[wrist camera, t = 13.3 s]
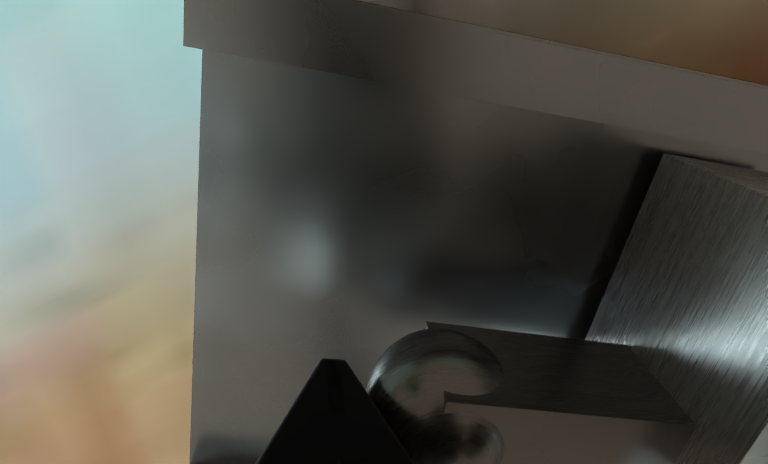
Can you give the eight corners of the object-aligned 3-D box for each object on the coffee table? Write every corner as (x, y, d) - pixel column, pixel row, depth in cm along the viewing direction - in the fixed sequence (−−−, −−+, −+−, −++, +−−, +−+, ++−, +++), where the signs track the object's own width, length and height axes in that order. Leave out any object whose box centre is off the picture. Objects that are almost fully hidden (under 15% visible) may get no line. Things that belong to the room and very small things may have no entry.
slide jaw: (610, 493, 13) (716, 684, 9) (331, 473, 12) (323, 680, 8) (779, 174, 9) (1062, 273, 6) (403, 106, 8) (447, 174, 5)
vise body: (829, 512, 15) (1020, 706, 11) (198, 468, 13) (118, 701, 8) (1115, 159, 11) (1637, 251, 6) (217, -27, 8) (64, -85, 4)
